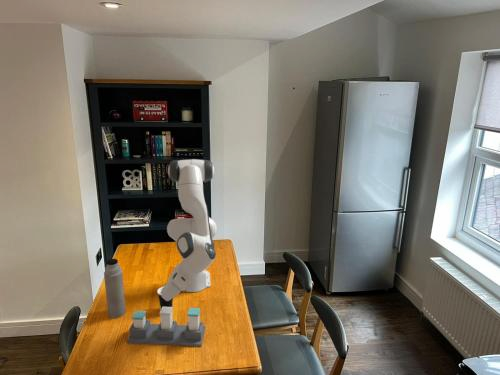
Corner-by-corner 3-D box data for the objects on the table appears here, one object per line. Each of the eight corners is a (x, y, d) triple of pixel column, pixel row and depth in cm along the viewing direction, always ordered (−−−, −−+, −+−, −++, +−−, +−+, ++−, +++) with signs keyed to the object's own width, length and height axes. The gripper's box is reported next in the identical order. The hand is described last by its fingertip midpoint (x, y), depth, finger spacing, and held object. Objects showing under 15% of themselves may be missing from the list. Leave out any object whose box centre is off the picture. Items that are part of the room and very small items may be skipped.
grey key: (163, 324, 163) (162, 306, 160) (173, 324, 163) (172, 307, 160) (160, 330, 159) (159, 313, 156) (171, 331, 158) (170, 313, 156)
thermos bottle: (114, 306, 181) (110, 255, 173) (129, 309, 179) (124, 258, 171) (104, 316, 173) (98, 263, 165) (119, 319, 171) (114, 266, 163)
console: (136, 324, 168) (135, 315, 167) (205, 328, 167) (205, 318, 166) (126, 343, 157) (125, 333, 155) (201, 346, 156) (201, 336, 154)
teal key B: (190, 325, 163) (189, 307, 160) (200, 325, 163) (200, 308, 160) (188, 332, 158) (187, 314, 156) (198, 332, 158) (198, 314, 156)
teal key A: (136, 328, 164) (135, 310, 162) (147, 328, 164) (146, 311, 161) (133, 335, 160) (132, 317, 157) (143, 335, 160) (142, 317, 157)
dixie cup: (177, 307, 182) (177, 287, 179) (169, 316, 174) (168, 296, 171) (163, 303, 184) (162, 284, 181) (155, 313, 177) (153, 293, 174)
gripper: (184, 256, 162) (163, 274, 165) (173, 281, 142) (149, 301, 146) (194, 265, 163) (173, 283, 166) (184, 291, 144) (161, 311, 147)
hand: (162, 292), depth 156 cm, fingers closed
